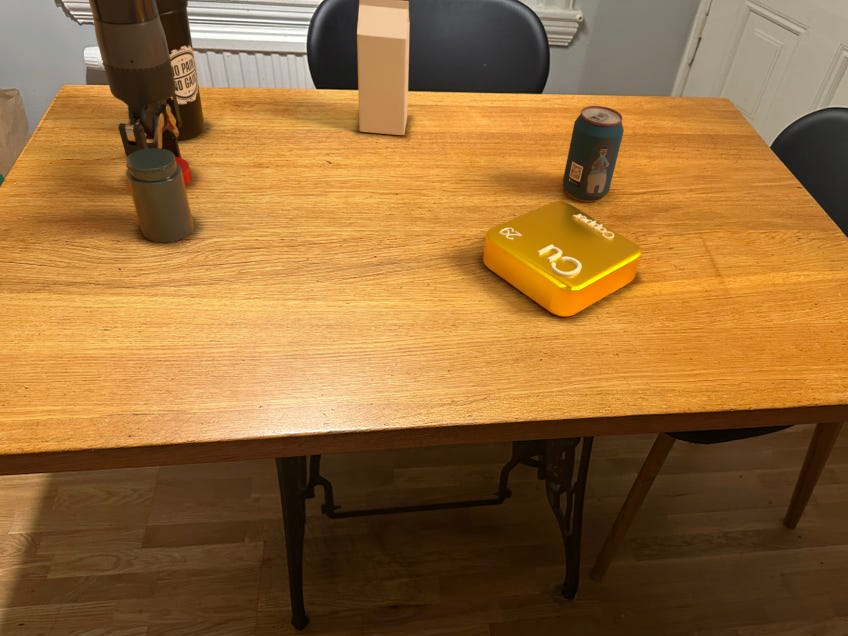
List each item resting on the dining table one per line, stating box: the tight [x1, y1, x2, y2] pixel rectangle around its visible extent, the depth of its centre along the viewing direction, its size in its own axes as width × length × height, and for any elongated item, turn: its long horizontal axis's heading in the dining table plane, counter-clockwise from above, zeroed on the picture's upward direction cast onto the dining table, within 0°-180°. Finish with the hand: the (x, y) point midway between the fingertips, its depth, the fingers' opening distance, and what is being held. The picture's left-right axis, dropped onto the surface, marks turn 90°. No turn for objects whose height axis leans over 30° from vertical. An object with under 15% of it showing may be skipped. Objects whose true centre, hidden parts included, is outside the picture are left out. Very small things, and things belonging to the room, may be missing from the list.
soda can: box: [562, 105, 625, 203], centre depth 99 cm, size 7×7×12 cm
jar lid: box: [175, 157, 192, 187], centre depth 94 cm, size 6×6×2 cm
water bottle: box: [156, 0, 206, 142], centre depth 98 cm, size 10×10×23 cm
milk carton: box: [356, 0, 411, 136], centre depth 107 cm, size 7×7×19 cm
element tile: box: [482, 200, 643, 318], centre depth 87 cm, size 15×15×5 cm
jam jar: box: [125, 148, 195, 244], centre depth 83 cm, size 6×6×10 cm
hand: (164, 177), depth 95 cm, fingers open, 7 cm apart
